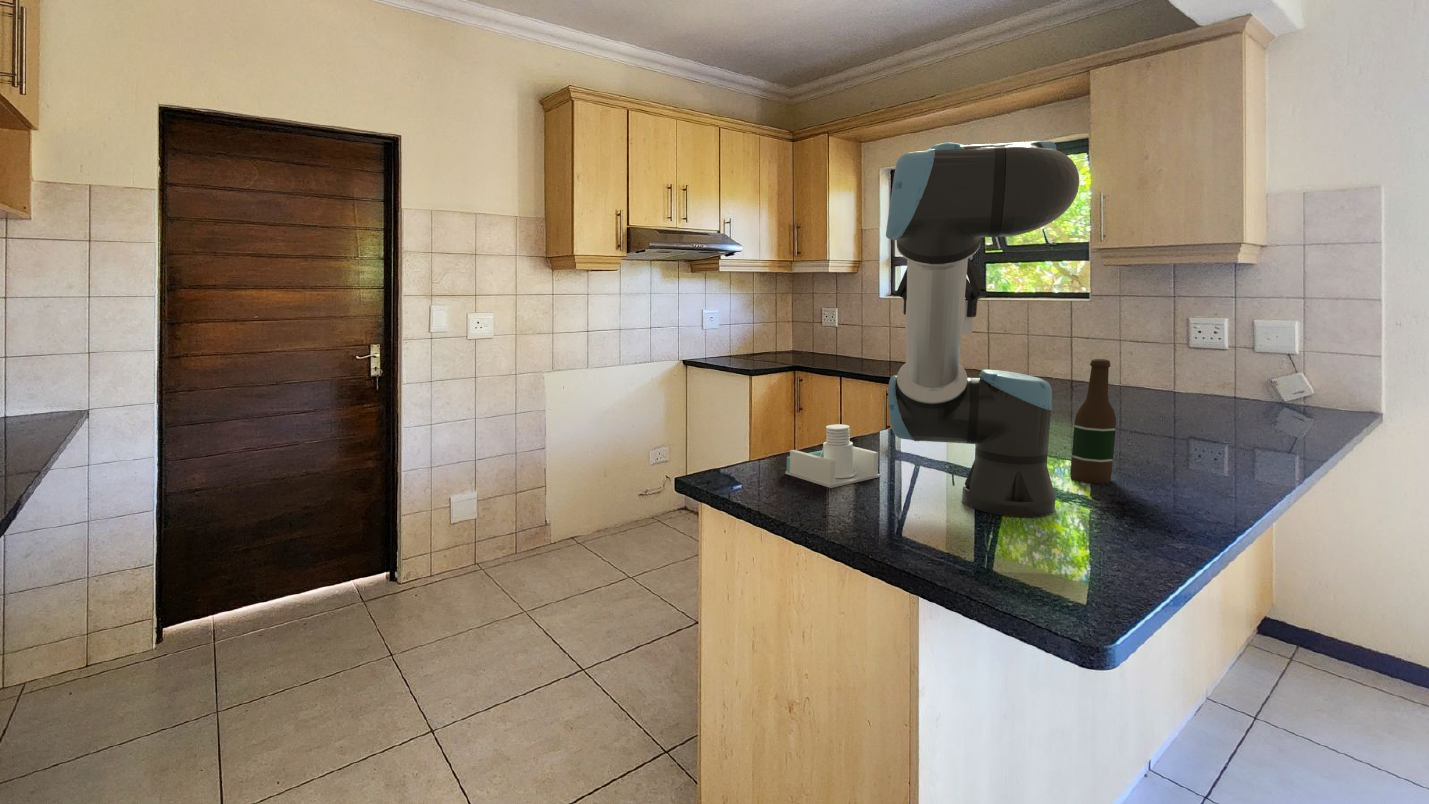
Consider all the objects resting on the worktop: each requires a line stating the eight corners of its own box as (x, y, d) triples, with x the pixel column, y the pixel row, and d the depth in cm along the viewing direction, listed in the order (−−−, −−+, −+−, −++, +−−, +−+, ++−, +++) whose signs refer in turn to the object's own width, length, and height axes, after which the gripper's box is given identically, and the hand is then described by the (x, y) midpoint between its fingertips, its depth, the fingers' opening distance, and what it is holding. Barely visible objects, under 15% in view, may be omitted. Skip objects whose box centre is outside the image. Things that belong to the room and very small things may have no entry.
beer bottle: (1101, 474, 145) (1112, 358, 141) (1119, 485, 137) (1131, 362, 133) (1062, 473, 145) (1071, 357, 142) (1077, 483, 138) (1088, 361, 134)
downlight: (857, 470, 145) (856, 422, 144) (860, 479, 138) (859, 429, 137) (817, 471, 146) (816, 423, 145) (819, 480, 139) (818, 430, 138)
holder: (880, 476, 143) (881, 452, 142) (830, 488, 134) (831, 462, 134) (833, 464, 153) (834, 441, 152) (785, 473, 145) (785, 449, 144)
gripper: (1010, 222, 134) (1003, 334, 137) (905, 231, 154) (900, 328, 157) (987, 220, 129) (980, 336, 133) (882, 229, 149) (878, 329, 153)
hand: (937, 332), depth 145 cm, fingers open, 13 cm apart
